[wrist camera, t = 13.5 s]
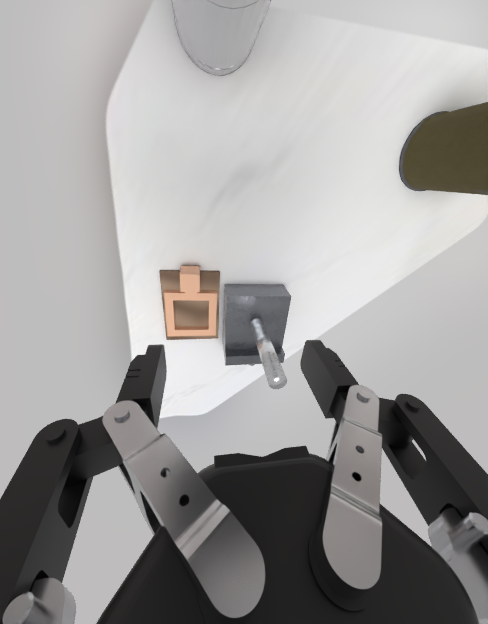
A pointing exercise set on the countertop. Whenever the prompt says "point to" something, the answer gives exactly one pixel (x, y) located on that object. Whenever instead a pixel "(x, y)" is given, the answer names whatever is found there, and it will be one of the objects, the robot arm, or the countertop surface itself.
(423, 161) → the canister
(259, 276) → the countertop surface
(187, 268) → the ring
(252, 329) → the block
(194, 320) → the board
